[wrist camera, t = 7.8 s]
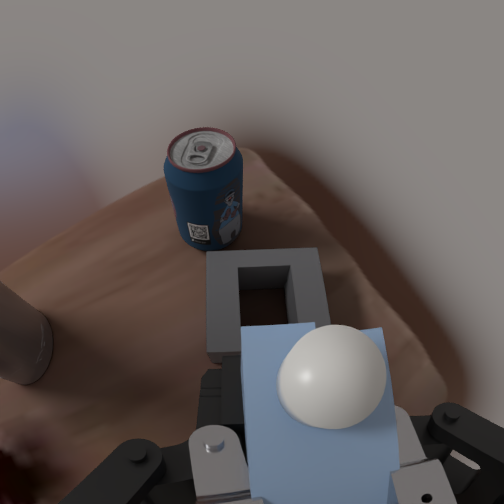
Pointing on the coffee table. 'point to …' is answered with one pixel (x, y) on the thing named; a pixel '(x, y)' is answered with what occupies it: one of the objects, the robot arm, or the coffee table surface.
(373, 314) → the coffee table surface
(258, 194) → the coffee table surface
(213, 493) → the robot arm
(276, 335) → the block
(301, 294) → the grey block with hole
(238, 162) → the soda can
